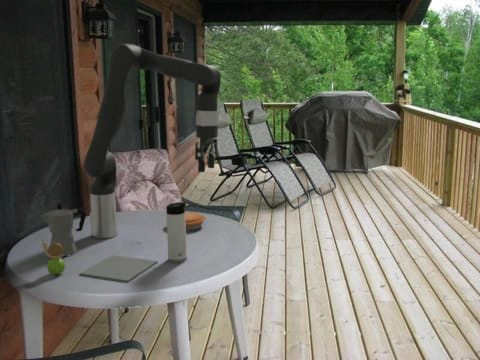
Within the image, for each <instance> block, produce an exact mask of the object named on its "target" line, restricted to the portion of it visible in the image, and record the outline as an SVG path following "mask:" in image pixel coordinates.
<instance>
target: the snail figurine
mask: <svg viewBox="0 0 480 360" xmlns="http://www.w3.org/2000/svg"><path fill="white" fill-rule="evenodd" d="M44 240H45V239H44V238H43V237H42V238H41V241H42V243H41V244H42V248H43V251H44V253H45V255H46V256H47V257H48V258H50V259H49V260H48V262H47V264H46V268H47V271H48V272H49V274H52V275H55V276H57V275H60V274H62V273H63V272H64V270H65V269H66V264H65V261H64V260H63V259H62V258H63V257H62V256H63V254H61V253H62V251H63V248H62V246H61V245H60V244H58V243H52V244H51V243H50V245H49V246H48V243H47V242H46V241H44ZM60 254H61V255H60Z"/></svg>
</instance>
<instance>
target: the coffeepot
mask: <svg viewBox="0 0 480 360" xmlns="http://www.w3.org/2000/svg"><path fill="white" fill-rule="evenodd" d="M56 206H57V209H55V210H54V209H53V210H49V211H48V212H45V213H43V214H41V215H40V216H39V217H40V218H41V219H43V221H44V222H45V223H46V224H47V225H48V228H49V232H50V233H51V237H50V245H51V244H52V243H58V244H60V245H61V246H62V248H63V251H62V253H61V254H63V256H68V255H71V256H73V255H72V254H74V255H75V254H76V253H77V252H78V251H77V247H76V242H75V239H74V236H73V235H74V234H73V233H72V231H73V228H74V227H73V225H74V218H75V217H74V216H75V215H79V214H80V220H79V224H78V225H79V226H78V228H75V231H76V232H81V231H82V230H83V228H84V224H85V220H86V218H87V217H86V216H87V212H86V211H85V210H84V209H83V208H74V209H69V208H63V204H61V203H59V204H57V205H56ZM75 252H76V253H75ZM61 254H60V255H61ZM68 257H69V256H68Z"/></svg>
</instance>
